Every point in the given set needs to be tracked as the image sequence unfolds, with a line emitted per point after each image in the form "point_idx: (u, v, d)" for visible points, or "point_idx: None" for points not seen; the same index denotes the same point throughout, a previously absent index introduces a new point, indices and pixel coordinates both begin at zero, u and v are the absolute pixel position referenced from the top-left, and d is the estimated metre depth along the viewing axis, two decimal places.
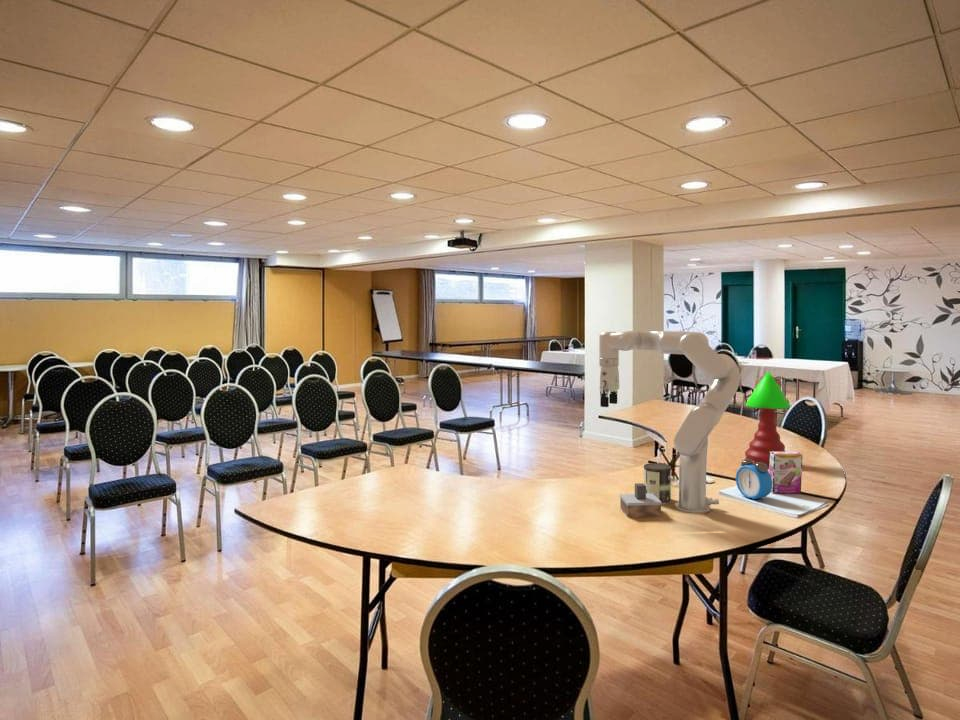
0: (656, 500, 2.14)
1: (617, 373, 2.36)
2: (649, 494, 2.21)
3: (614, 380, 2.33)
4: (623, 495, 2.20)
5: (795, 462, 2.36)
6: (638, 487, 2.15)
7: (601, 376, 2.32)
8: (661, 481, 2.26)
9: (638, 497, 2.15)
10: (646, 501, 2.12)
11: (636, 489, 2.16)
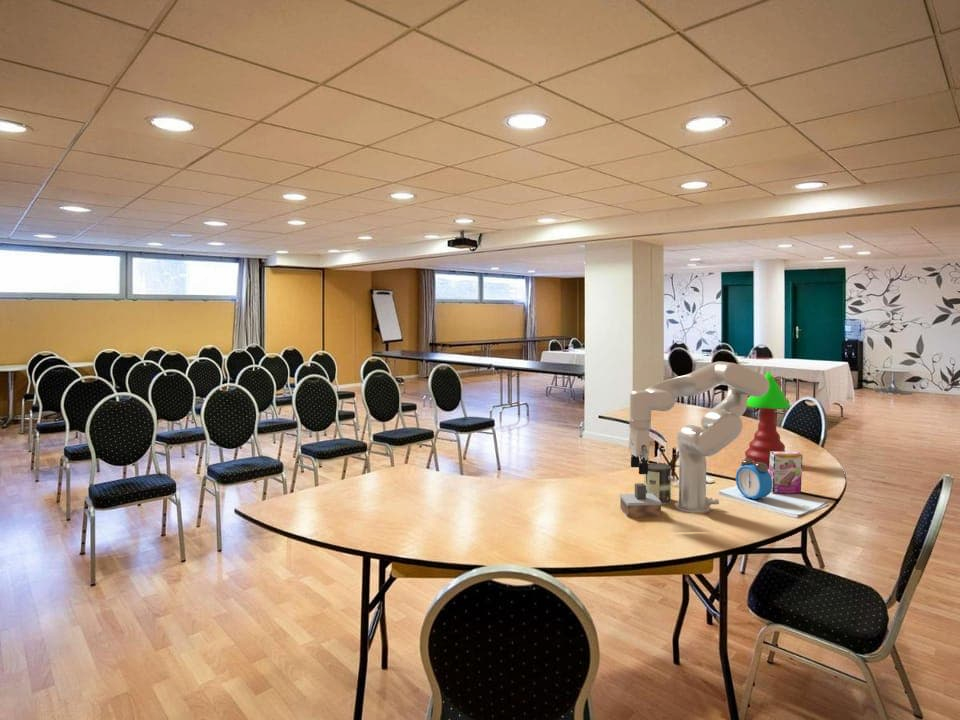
0: (656, 500, 2.14)
1: (634, 437, 2.12)
2: (649, 494, 2.21)
3: (630, 442, 2.16)
4: (623, 495, 2.20)
5: (795, 462, 2.36)
6: (638, 487, 2.15)
7: None
8: (661, 481, 2.26)
9: (638, 497, 2.15)
10: (646, 501, 2.12)
11: (636, 489, 2.16)
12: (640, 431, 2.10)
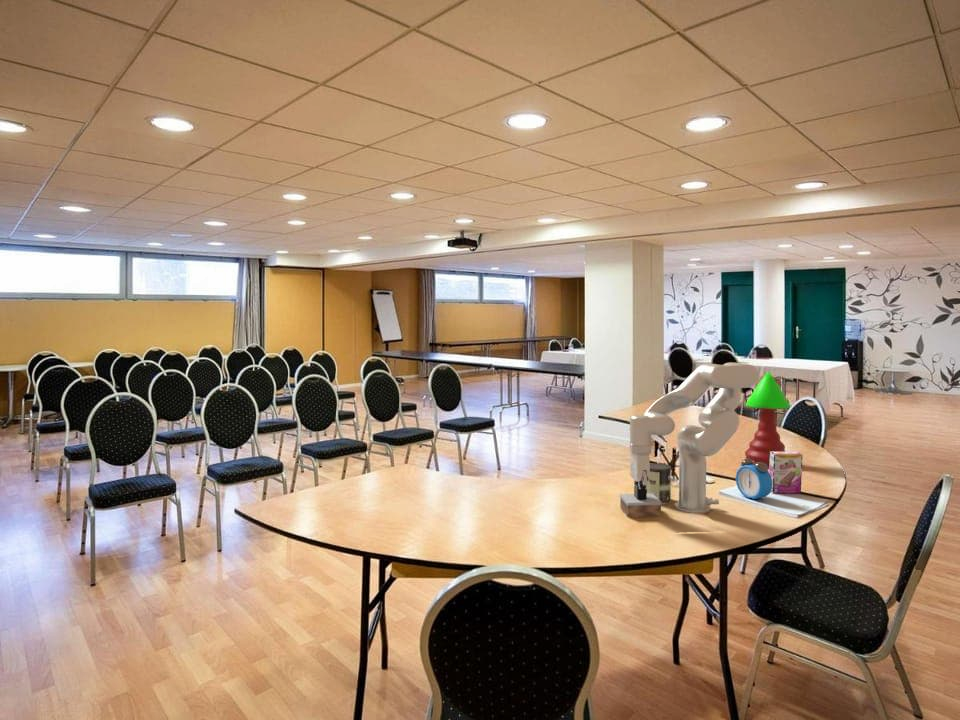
0: (656, 500, 2.14)
1: (634, 462, 2.13)
2: (649, 494, 2.21)
3: (631, 466, 2.17)
4: (623, 495, 2.20)
5: (795, 462, 2.36)
6: None
7: None
8: (661, 481, 2.26)
9: None
10: (646, 501, 2.12)
11: (636, 489, 2.16)
12: (640, 456, 2.11)
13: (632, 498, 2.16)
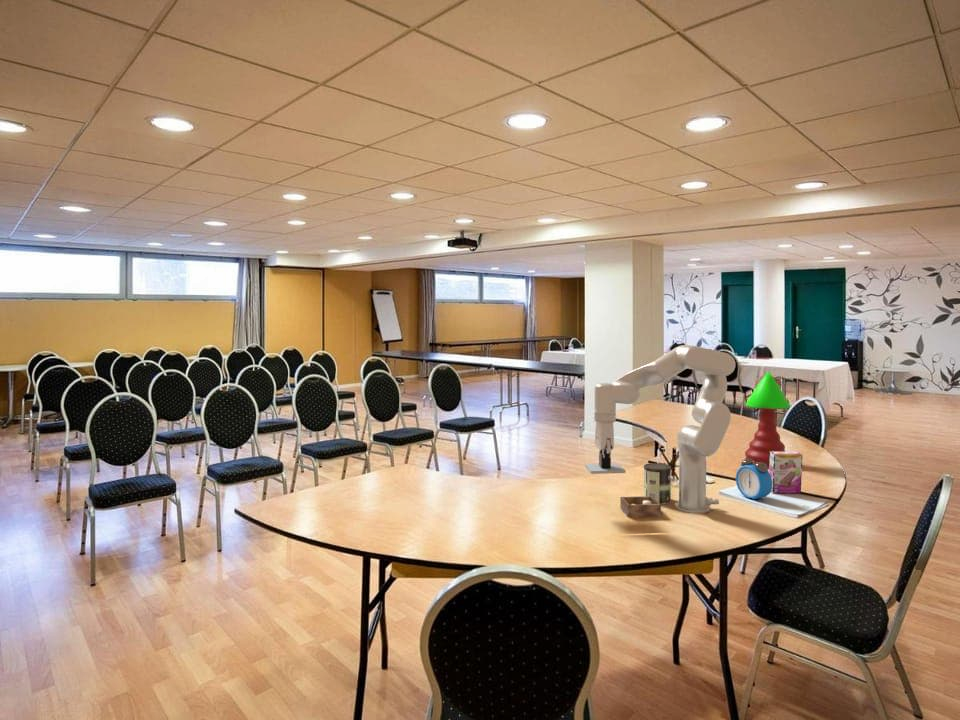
0: (620, 468, 2.12)
1: (598, 430, 2.12)
2: (614, 464, 2.19)
3: (596, 435, 2.16)
4: (588, 464, 2.19)
5: (795, 462, 2.36)
6: (602, 456, 2.13)
7: None
8: (661, 481, 2.26)
9: None
10: (610, 470, 2.11)
11: (600, 458, 2.14)
12: (604, 424, 2.09)
13: (596, 467, 2.15)
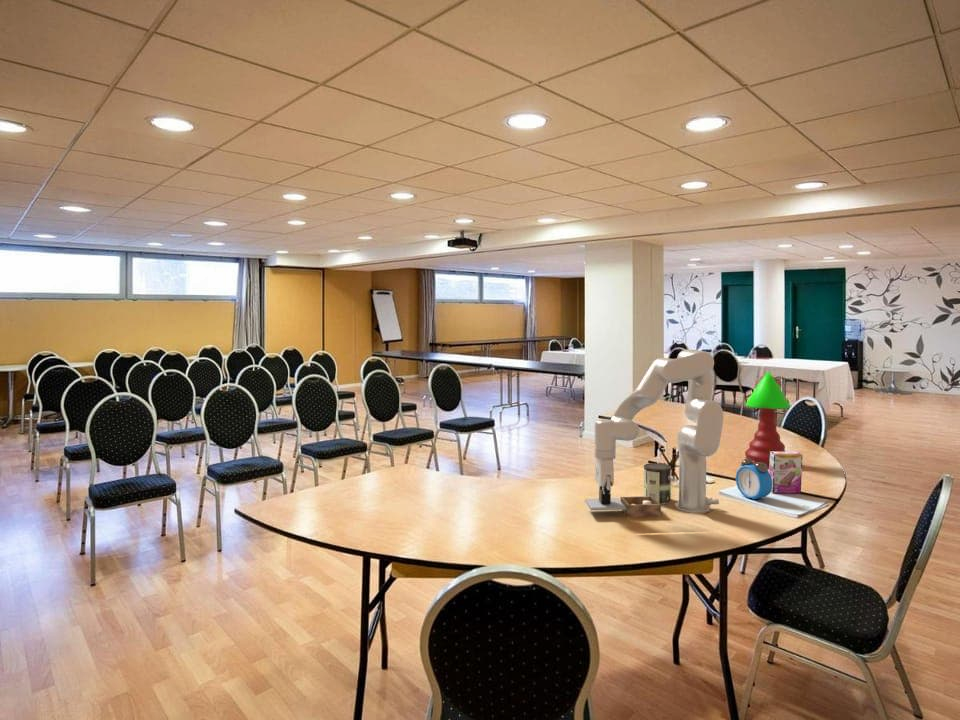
0: (620, 505, 2.13)
1: (598, 467, 2.13)
2: (614, 499, 2.20)
3: (596, 471, 2.17)
4: (588, 500, 2.20)
5: (795, 462, 2.36)
6: None
7: None
8: (661, 481, 2.25)
9: None
10: (610, 506, 2.12)
11: (600, 494, 2.15)
12: (604, 461, 2.10)
13: (596, 503, 2.16)
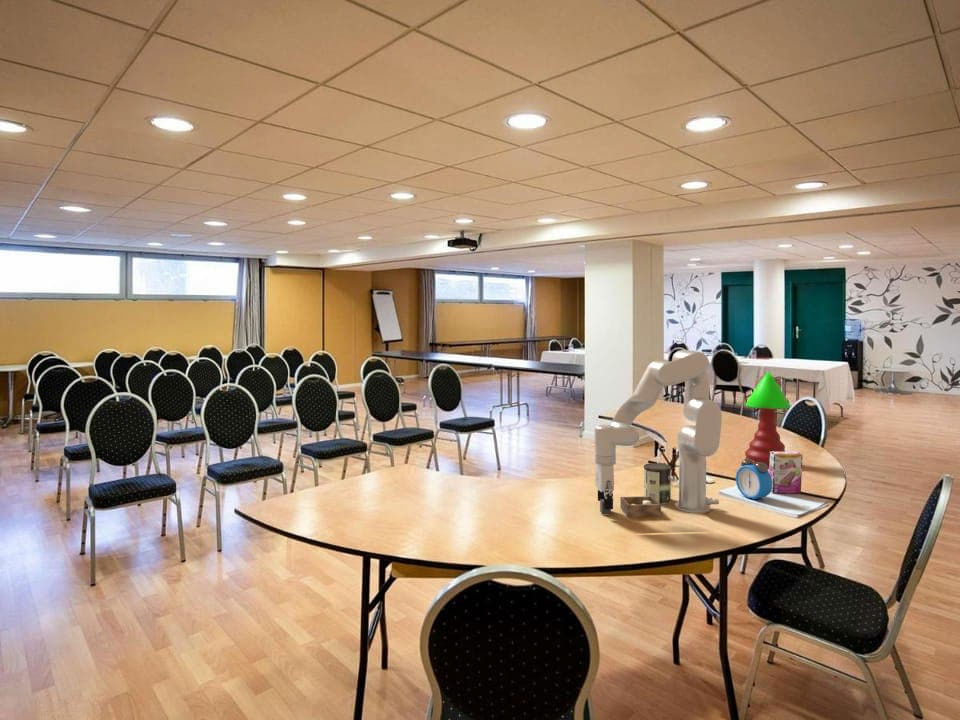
0: None
1: (599, 472, 2.13)
2: None
3: (596, 476, 2.17)
4: None
5: (795, 462, 2.36)
6: (603, 503, 2.14)
7: None
8: (661, 481, 2.25)
9: (603, 513, 2.15)
10: None
11: (601, 505, 2.16)
12: (604, 466, 2.11)
13: None
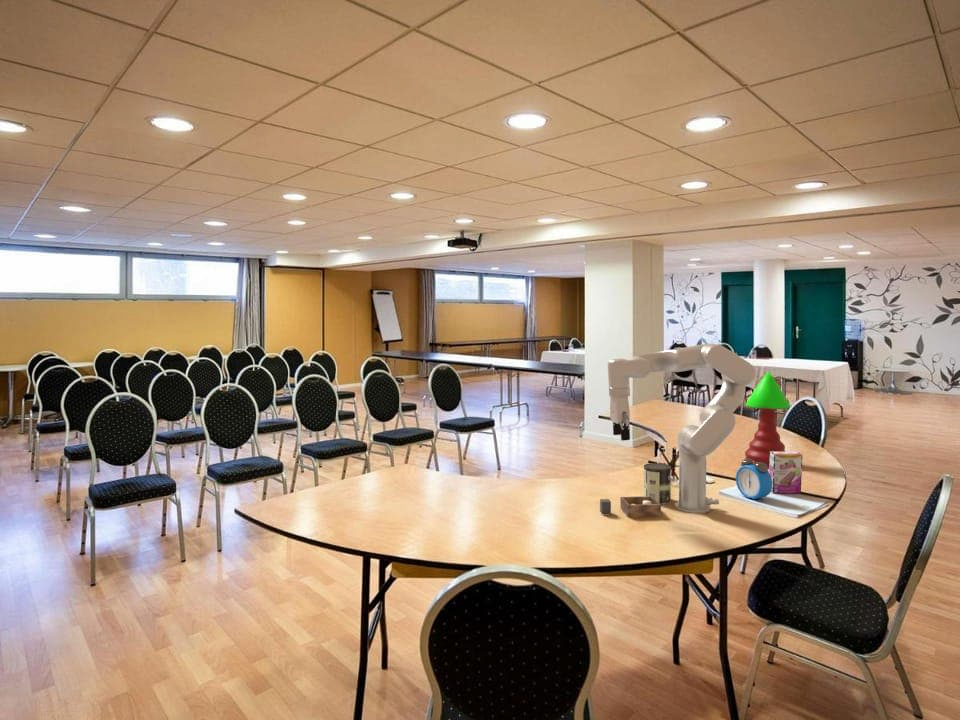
0: None
1: (614, 405, 2.17)
2: None
3: (611, 410, 2.21)
4: None
5: (795, 462, 2.36)
6: (603, 503, 2.14)
7: None
8: (661, 481, 2.25)
9: (603, 513, 2.15)
10: None
11: (601, 505, 2.16)
12: (620, 398, 2.15)
13: None
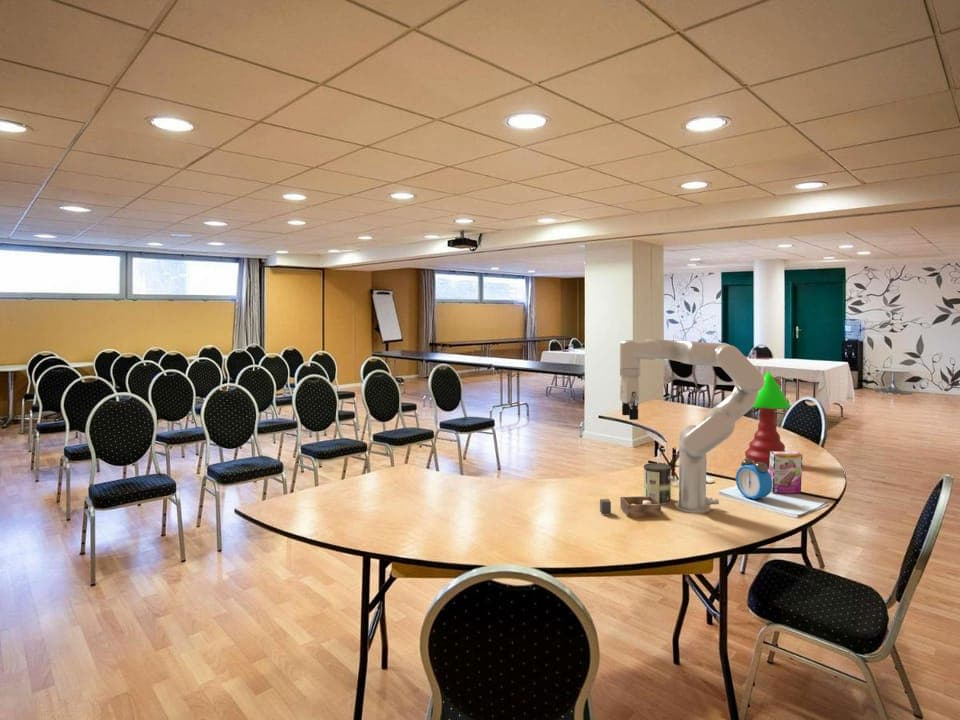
0: None
1: (624, 385, 2.21)
2: None
3: (621, 390, 2.25)
4: None
5: (795, 462, 2.36)
6: (603, 503, 2.14)
7: None
8: (661, 481, 2.26)
9: (603, 513, 2.15)
10: None
11: (601, 505, 2.16)
12: (630, 378, 2.19)
13: None
